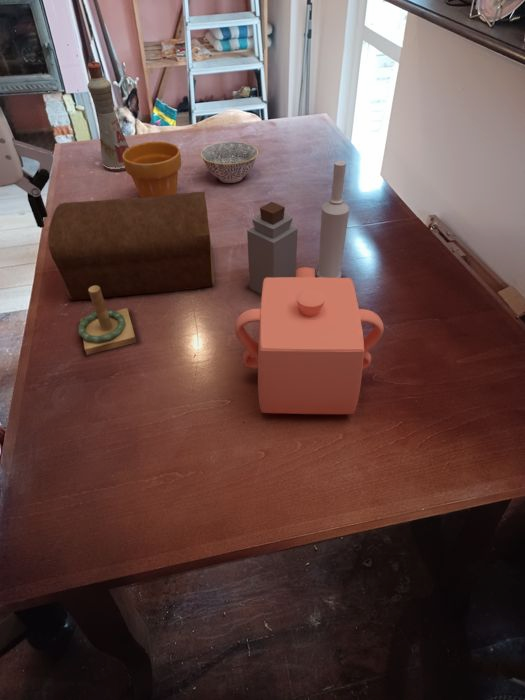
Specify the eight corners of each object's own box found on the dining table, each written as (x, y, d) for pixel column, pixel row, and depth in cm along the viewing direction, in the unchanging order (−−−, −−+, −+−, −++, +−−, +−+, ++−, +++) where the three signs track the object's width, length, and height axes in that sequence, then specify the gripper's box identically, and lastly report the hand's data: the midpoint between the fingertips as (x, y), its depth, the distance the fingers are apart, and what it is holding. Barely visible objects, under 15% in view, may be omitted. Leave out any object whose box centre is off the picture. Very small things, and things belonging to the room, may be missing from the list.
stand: (86, 355, 86) (69, 310, 79) (82, 324, 92) (65, 280, 85) (136, 342, 88) (124, 297, 81) (128, 313, 94) (116, 269, 87)
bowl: (226, 162, 145) (225, 136, 140) (269, 174, 138) (269, 148, 133) (191, 181, 136) (188, 154, 131) (235, 195, 129) (234, 168, 124)
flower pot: (195, 203, 126) (189, 154, 117) (146, 219, 121) (136, 169, 112) (171, 184, 135) (164, 137, 126) (124, 198, 129) (113, 149, 120)
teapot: (244, 317, 93) (239, 236, 80) (361, 318, 92) (374, 237, 79) (234, 421, 75) (227, 337, 62) (379, 423, 74) (401, 339, 61)
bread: (80, 256, 109) (57, 189, 98) (210, 245, 112) (203, 178, 100) (68, 306, 96) (41, 235, 85) (216, 291, 99) (208, 221, 88)
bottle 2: (315, 286, 100) (324, 168, 82) (317, 271, 103) (326, 156, 86) (340, 288, 99) (354, 170, 81) (341, 273, 103) (355, 158, 85)
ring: (82, 348, 85) (80, 343, 84) (77, 320, 91) (75, 315, 90) (129, 336, 87) (127, 331, 86) (121, 309, 93) (120, 304, 92)
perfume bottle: (249, 287, 99) (246, 208, 87) (271, 273, 103) (271, 195, 90) (273, 301, 96) (273, 220, 84) (295, 286, 100) (298, 206, 87)
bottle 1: (105, 161, 147) (79, 57, 128) (135, 159, 148) (113, 55, 128) (101, 173, 141) (73, 66, 121) (132, 171, 142) (110, 64, 122)
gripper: (25, 60, 53) (69, 205, 65) (-155, 77, 48) (-73, 229, 60) (26, 77, 48) (74, 231, 60) (-175, 98, 43) (-80, 259, 55)
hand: (0, 229), depth 60 cm, fingers open, 9 cm apart
